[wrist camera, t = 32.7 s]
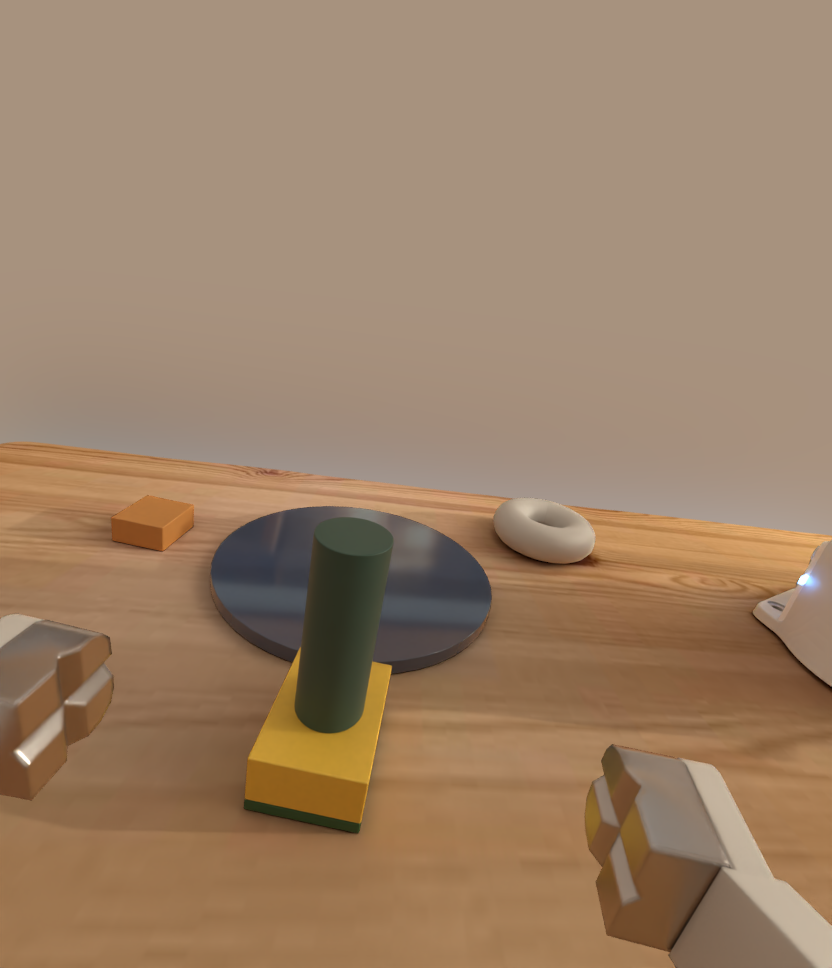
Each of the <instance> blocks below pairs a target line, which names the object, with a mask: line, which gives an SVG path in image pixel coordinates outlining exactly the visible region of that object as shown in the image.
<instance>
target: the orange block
mask: <svg viewBox="0 0 832 968" xmlns="http://www.w3.org/2000/svg"><path fill="white" fill-rule="evenodd" d="M193 524H194V505H192V504H187V503H182V502H177V501H173V500H168V499H163V498H158V497H154V496H149V495H147V496H145V497H144V498H142V499H140V500H139V501H137V502H135V503H134V504H132V505H131V506H129V507H127V508H126V509H124V510H122V511H121V512H119V513H117V514H116V515H114V516H113V517H111V525H112V540H113V541H117V542H121V543H126V544H131V545H135V546H140V547H145V548H149V549H154V550H159V551H164V550H165V549H166V548H167V547H169V546H170V545H171V544H172V543H173V542H175V541H176V540H177V539H178V538H180V537H181V536H182V535H183V534H184V533H186V532H187V531H188V530H189V529H191V528H192V527H193Z"/></svg>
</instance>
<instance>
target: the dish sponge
mask: <svg viewBox="0 0 832 968" xmlns="http://www.w3.org/2000/svg"><path fill="white" fill-rule="evenodd" d="M393 543H394V539H393V536H392V534H391V533H390V532H389V531H388V530H387V529H386V528H384V527H383V526H381V525H379V524H377V523H375V522H372V521H369V520H365V519H360V518H353V517H339V518H332V519H328V520H326V521H323V522H321V523H320V524H319V525H317V527H316V528H315V530H314V537H313V546H312V554H311V563H310V572H309V581H308V590H307V598H306V607H305V616H304V625H303V634H302V642H301V647H300V648H299V650H298V652H297V655H296V657H295V659H294V661H293V663H292V665H291V667H290V669H289V672H288V674H287V676H286V678H285V680H284V682H283V684H282V686H281V688H280V691H279V693H278V695H277V697H276V699H275V701H274V703H273V705H272V708H271V710H270V712H269V714H268V716H267V718H266V720H265V722H264V724H263V727H262V729H261V731H260V733H259V735H258V737H257V739H256V741H255V743H254V746H253V748H252V750H251V752H250V754H249V756H248V760H247V773H246V787H245V800H244V809H247V810H252V811H256V812H261V813H266V814H270V815H275V816H279V817H284V818H289V819H293V820H298V821H303V822H307V823H312V824H316V825H321V826H326V827H330V828H335V829H339V830H344V831H349V832H353V833H359V831H360V826H361V821H362V816H363V811H364V806H365V801H366V796H367V791H368V786H369V781H370V776H371V771H372V766H373V761H374V756H375V751H376V746H377V741H378V736H379V731H380V726H381V721H382V716H383V711H384V705H385V700H386V695H387V690H388V685H389V680H390V675H391V670H392V666H391V665H387V664H382V663H377V662H373V655H374V649H375V644H376V638H377V633H378V627H379V622H380V616H381V610H382V605H383V599H384V594H385V588H386V582H387V577H388V571H389V566H390V560H391V554H392V549H393Z"/></svg>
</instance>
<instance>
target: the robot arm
mask: <svg viewBox="0 0 832 968" xmlns="http://www.w3.org/2000/svg"><path fill="white" fill-rule="evenodd" d="M753 614H754V616H755V617H756V618H757V619H758V620H760V621H761V622H762V623H763V624H765V625H766V626H767V627H768V628H770V629H771V630H772V631H773V632H775V633H776V634H777V635H778V636H779V637H780V638H781V639H782V641H783V642H784V643H785V645H786V646H787V647H788V649H789V650H790V651H791V652H792V653H793V654H794V656H795V657H796V658H797V659H798V660H799V661H800V662H801V663H802V664H804V665H805V666H806V667H807V668H808V669H809V670H810V671H812V672H813V673H814V674H815V675H816V676H818V677H819V678H820V679H822V680H823V681H824V682H826V683H827V684H828V685H830V686H831V687H832V540H831V541H825V542H823V543H822V544H821V545H820V546H818V547H817V548H816V549H815V550H814V552H813V554H812V556H811V560H810V562H809V566H808V568H807V569H806V571H805V573H804V575H803V576H801V577H800V579H799V580H798V581H797V583H796V587H795V588H793V589H790V590H788V591H786V592H783V593H781V594H778V595H776V596H773V597H771V598H769V599H766V600H764V601H761V602H759V603H758V604H757V606H756V607H755V609H754V610H753ZM111 654H112V651H111V642H110V637H108V636H106V635H104V634H102V633H99V632H95V631H91V630H87V629H82V628H78V627H74V626H70V625H66V624H62V623H58V622H54V621H50V620H43V619H39V618H35V617H31V616H27V615H23V614H19V613H15V614H11V615H6V616H3V617H2V618H0V794H1V795H6V796H11V797H16V798H21V799H26V800H31V801H32V800H33V798H34V797H35V796H36V795H37V794H38V793H39V792H40V790H41V789H42V788H43V787H44V786H45V785H46V784H47V782H48V781H49V780H50V779H51V778H52V777H53V776H54V775H55V773H56V772H57V771H58V770H59V769H60V768H61V767H62V765H63V764H64V763H65V762H66V761H67V752H68V746H69V745H71V744H73V743H75V742H77V741H79V740H81V739H83V738H85V737H87V736H89V735H90V733H91V732H92V731H93V730H94V729H95V727H96V726H97V725H98V724H99V723H100V721H101V720H102V718H103V716H104V714H105V712H106V710H107V708H108V706H109V705H110V703H111V699H112V694H113V689H114V679H113V674H112V673H111V672H110V670H109V669H108V668H107V666H106V665H105V664H104V662H105V661H106V659H107V658H108V657H109V656H110V655H111ZM601 763H602V767H603V771H604V775H603V776H601V777H600V778H598V779H596V780H594V781H593V782H592V784H591V787H590V790H589V792H588V795H587V799H586V808H585V829H586V836H587V842H588V847H589V850H590V852H591V853H592V854H593V856H594V857H595V858H596V860H597V861H598V862H599V864H600V865H601V866H602V869H601V871H600V874H599V876H598V878H597V880H596V886H597V891H598V896H599V901H600V905H601V910H602V915H603V920H604V925H605V929H606V934H607V935H608V936H611V937H615V938H619V939H623V940H626V941H630V942H634V943H638V944H641V945H645V946H649V947H653V948H656V949H660V950H664V951H668V952H670V953H669V955H668V956H669V957H670V959H671V960H672V962H673V963H674V965H675V967H676V968H832V926H831V925H830V924H829V923H828V922H827V921H826V920H825V919H824V918H823V917H822V916H821V915H820V914H819V913H818V912H817V911H816V910H815V909H814V908H813V907H812V906H811V905H810V904H809V903H808V902H806V901H805V900H804V899H803V898H802V897H801V896H800V895H799V894H798V893H797V892H796V891H795V890H794V889H793V888H792V887H791V886H790V885H789V884H788V883H787V882H786V881H782V880H778V879H774V877H773V875H772V873H771V871H770V869H769V867H768V865H767V863H766V861H765V859H764V857H763V855H762V853H761V851H760V850H759V848H758V846H757V844H756V842H755V840H754V838H753V836H752V834H751V832H750V830H749V828H748V826H747V824H746V822H745V820H744V818H743V817H742V815H741V813H740V811H739V809H738V807H737V805H736V803H735V801H734V799H733V797H732V795H731V793H730V791H729V789H728V787H727V786H726V784H725V782H724V780H723V778H722V776H721V774H720V772H719V771H718V770H717V769H716V768H715V767H714V766H713V765H711V764H707V763H702V762H697V761H692V760H687V759H682V758H675V757H672V756H667V755H662V754H657V753H653V752H648V751H643V750H638V749H633V748H629V747H624V746H619V745H614V744H612V745H611V746H610V747H609V748H607V749H606V751H605V753H604V756H603V758H602V760H601Z"/></svg>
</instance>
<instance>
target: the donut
mask: <svg viewBox="0 0 832 968" xmlns="http://www.w3.org/2000/svg"><path fill="white" fill-rule="evenodd" d="M493 522H494V528H495V532H496V533H497V534H498V536H499V537H500V538H501V540H502V541H503V542H504V543H505V544H506V545H508V546H509V547H510V548H512V549H513V550H515V551H517V552H519V553H521V554H523V555H525V556H528V557H530V558H533V559H536V560H540V561H545V562H550V563H562V564H567V563H572V562H577V561H580V560H582V559H583V558H585V557H586V556H588V555H589V554H590V553H591V552H592V550H593V548H594V543H595V533H594V531H593V529H592V527H591V525H590V524H589V522H588V521H587V520H586V519H584V518H583V517H582V516H581V515H580V514H578V513H576V512H575V511H573V510H571V509H569V508H567V507H565V506H562V505H560V504H557V503H554V502H550V501H546V500H541V499H537V498H516V499H511V500H509V501H506V502H504V503H502V504H501V505H500V507H499V508H498V509H497V510H496V512H495V514H494V519H493Z"/></svg>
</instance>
